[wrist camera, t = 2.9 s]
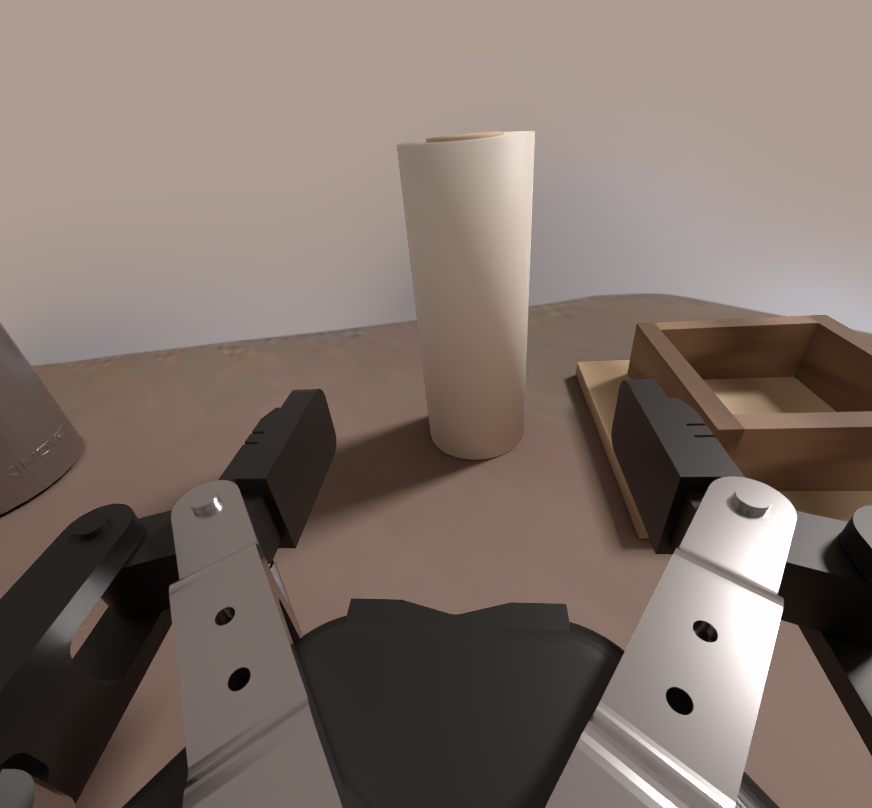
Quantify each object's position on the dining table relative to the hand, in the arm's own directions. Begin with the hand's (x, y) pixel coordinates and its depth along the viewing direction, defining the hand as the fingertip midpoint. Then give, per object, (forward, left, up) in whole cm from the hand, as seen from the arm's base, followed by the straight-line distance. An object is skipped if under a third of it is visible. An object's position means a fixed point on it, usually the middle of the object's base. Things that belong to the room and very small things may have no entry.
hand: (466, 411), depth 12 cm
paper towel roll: (0, +11, -9) cm, 14 cm away
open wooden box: (+15, +10, -9) cm, 20 cm away
